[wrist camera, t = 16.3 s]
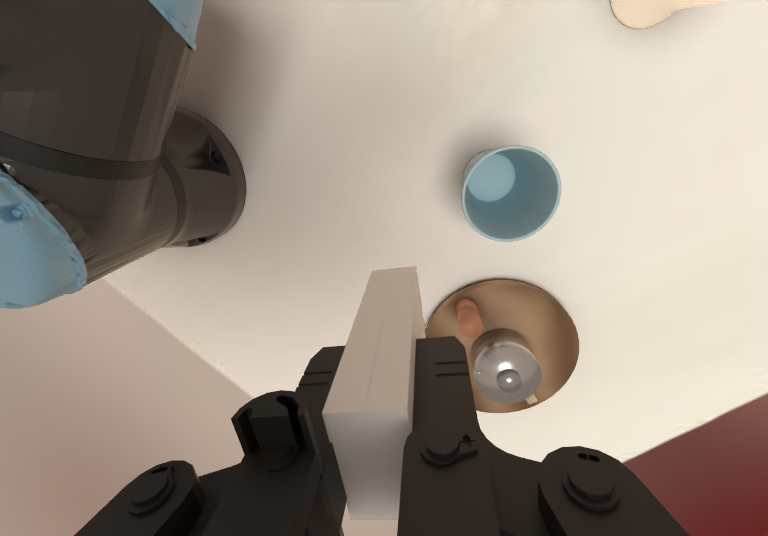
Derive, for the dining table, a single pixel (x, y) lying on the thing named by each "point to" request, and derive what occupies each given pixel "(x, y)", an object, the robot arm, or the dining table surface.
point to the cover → (505, 366)
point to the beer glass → (652, 10)
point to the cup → (510, 192)
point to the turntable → (516, 312)
